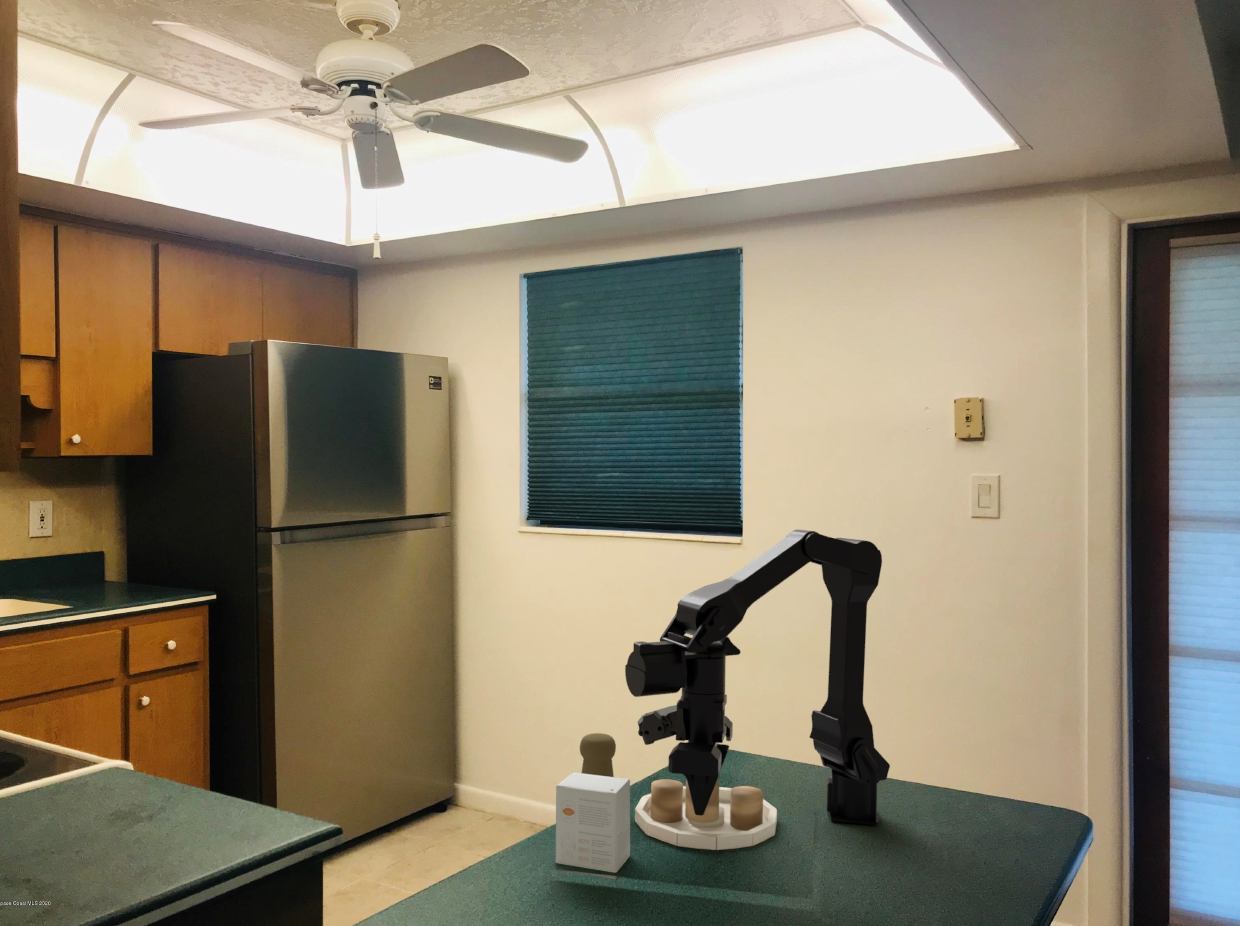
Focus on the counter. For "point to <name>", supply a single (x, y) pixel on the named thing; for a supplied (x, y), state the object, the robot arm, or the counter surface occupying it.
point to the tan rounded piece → (746, 807)
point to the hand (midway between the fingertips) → (701, 808)
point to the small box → (593, 823)
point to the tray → (706, 826)
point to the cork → (597, 754)
